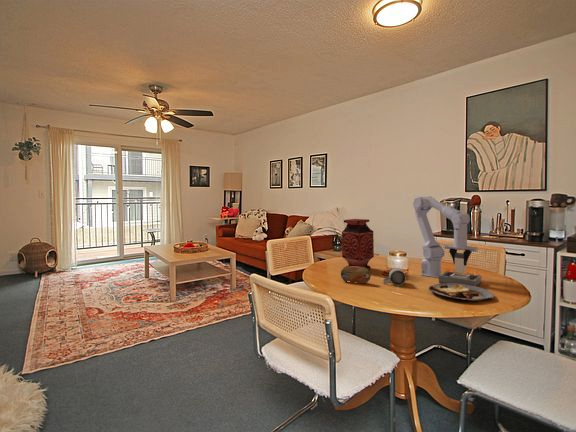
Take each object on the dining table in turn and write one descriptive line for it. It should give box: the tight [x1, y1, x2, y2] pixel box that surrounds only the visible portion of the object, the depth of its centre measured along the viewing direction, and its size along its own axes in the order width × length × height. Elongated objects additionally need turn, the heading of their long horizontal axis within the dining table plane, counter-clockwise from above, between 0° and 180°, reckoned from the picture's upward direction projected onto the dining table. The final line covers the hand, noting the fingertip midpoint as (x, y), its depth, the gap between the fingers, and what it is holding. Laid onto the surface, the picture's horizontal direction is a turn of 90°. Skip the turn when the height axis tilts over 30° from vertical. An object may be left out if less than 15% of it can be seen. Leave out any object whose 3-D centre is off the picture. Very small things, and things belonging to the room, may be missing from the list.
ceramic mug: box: [382, 268, 407, 287], centre depth 160 cm, size 11×8×8 cm
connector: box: [454, 252, 467, 274], centre depth 158 cm, size 4×4×9 cm
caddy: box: [438, 271, 482, 287], centre depth 158 cm, size 16×12×4 cm
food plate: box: [428, 283, 495, 302], centre depth 140 cm, size 25×23×4 cm
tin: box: [340, 265, 372, 284], centre depth 163 cm, size 15×3×8 cm, turn 65°
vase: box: [341, 218, 375, 270], centre depth 192 cm, size 14×14×30 cm
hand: (460, 264), depth 158 cm, fingers closed on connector, 4 cm apart
